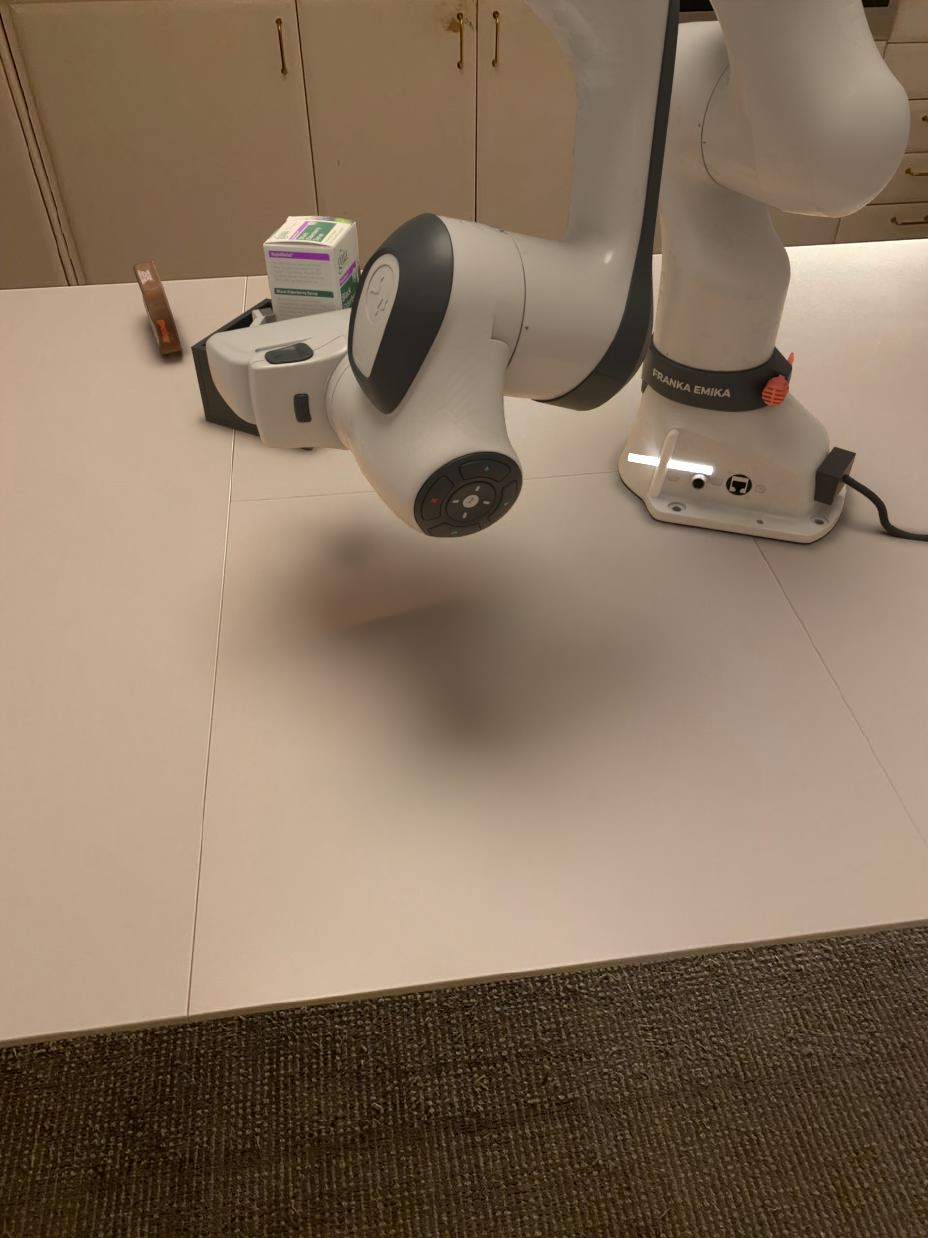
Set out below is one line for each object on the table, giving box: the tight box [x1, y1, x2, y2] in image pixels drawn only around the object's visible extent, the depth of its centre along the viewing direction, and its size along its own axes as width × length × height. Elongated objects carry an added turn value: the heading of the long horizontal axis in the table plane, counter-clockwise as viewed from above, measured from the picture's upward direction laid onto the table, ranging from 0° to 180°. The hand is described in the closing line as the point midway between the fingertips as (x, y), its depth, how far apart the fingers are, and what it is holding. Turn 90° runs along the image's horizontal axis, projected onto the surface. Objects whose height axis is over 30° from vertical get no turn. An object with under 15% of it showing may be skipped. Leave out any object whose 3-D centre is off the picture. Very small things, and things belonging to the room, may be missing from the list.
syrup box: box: [262, 215, 362, 322], centre depth 76 cm, size 6×6×14 cm
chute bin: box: [190, 297, 313, 451], centre depth 105 cm, size 14×14×9 cm
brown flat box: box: [132, 259, 183, 355], centre depth 117 cm, size 15×3×8 cm, turn 22°
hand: (316, 307), depth 77 cm, fingers closed on syrup box, 8 cm apart
